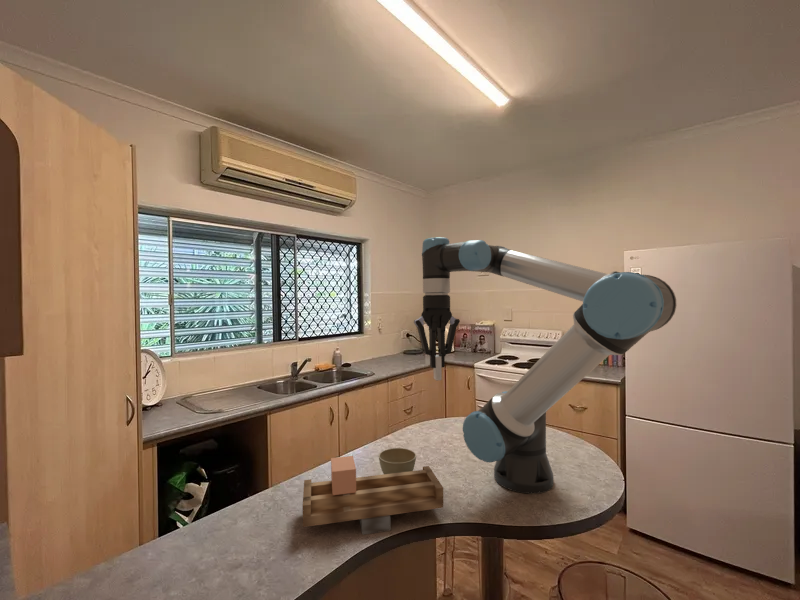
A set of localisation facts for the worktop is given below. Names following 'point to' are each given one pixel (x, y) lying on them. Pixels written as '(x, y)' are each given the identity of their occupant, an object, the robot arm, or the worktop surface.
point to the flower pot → (397, 460)
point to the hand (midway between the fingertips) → (437, 379)
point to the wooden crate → (372, 499)
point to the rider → (343, 475)
